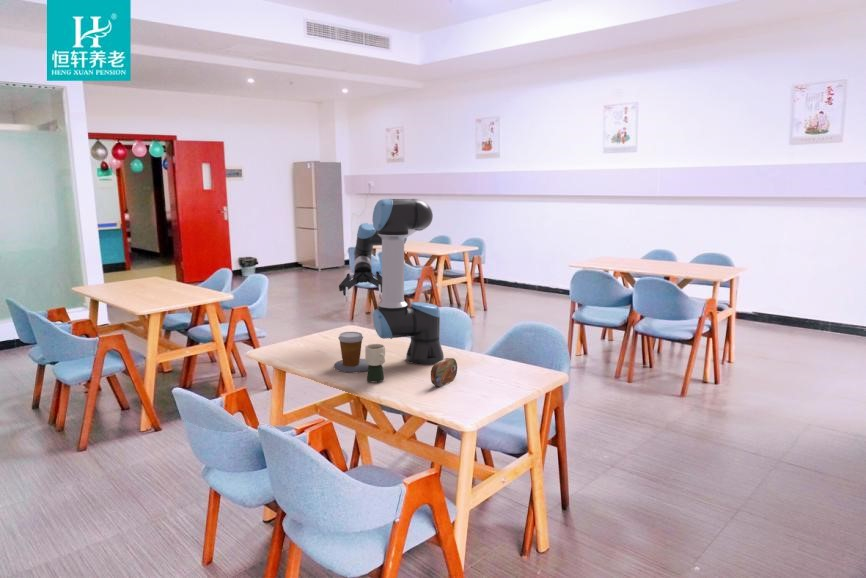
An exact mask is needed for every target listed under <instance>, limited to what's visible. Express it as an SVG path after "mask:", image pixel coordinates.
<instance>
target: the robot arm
mask: <svg viewBox="0 0 866 578" xmlns="http://www.w3.org/2000/svg"><path fill="white" fill-rule="evenodd" d="M433 216H434V215H433V209H432V208H431V207H430V206H429V204H428V203H427V202H426V201H423V200H421V199H419V198H418V199H417V198H382V199H379V200H378V201H377V202H376V204H375V205H374V208H373V212H372V220H371V221H372V223H368V222H364V223H360V225H359V226H358V229H357V233H356V244H355V247H354V250H353V252H354V253H353V255H354V264H353V266H354V269H353V272H354V273H353V274H350V273H346V276H345V278H344V279H343V280H342V281H341V282H340V283H339V285H338V289H339V290H338V291H339V292H342V294H343V296H345V301H346V303H347V302H348V303H349V290H350V289H352V288H353V287H354V286H355V285H358V284H363V283H368V284H372V285H374V286H375V287H377V288H378V294H379V300H381V301H379V302H378V304H377V308H376V309H374V310H373V312H372V320H373V322H372V323H373V326H374V330H375V332H376V334H377V336H378V337H379V338H380V339H383V340H384V339H391V340H392V339H397V338H407V337H408V338H409V337H410V342H409V345H408V347H407V351H406V358H405V359H406V361H407V362H408V363H410V364H415V365H421V366H422V365H423V366H424V365H425V366H428V365H429V366H430V365H434V364H435V363H437V362H439V361H441V360H443V359H445V358H444V357H445V356H444V352H443V349H442V348H443V347H442V345H441V341H440V330H441V329H440V324H441V314H440V307H439V306H438V305H436V304H432V303H428V302H420V301H419V302H418V301H416V302H415V301H414V302H411V303H410V306H409V304H408V303H407V301H405V244H406V241H407V239H408V237H409V236H412V235H413V234H414V233H416V232H421V231H423V230H426V229H427V228H428V227H429V226H430V225H431V223H432V222H433V218H434V217H433ZM375 246H376V247H377V246H381V274H380V272H379V271H376V272H375V273H373V270H372V255H373V249H374V247H375Z"/></svg>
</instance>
